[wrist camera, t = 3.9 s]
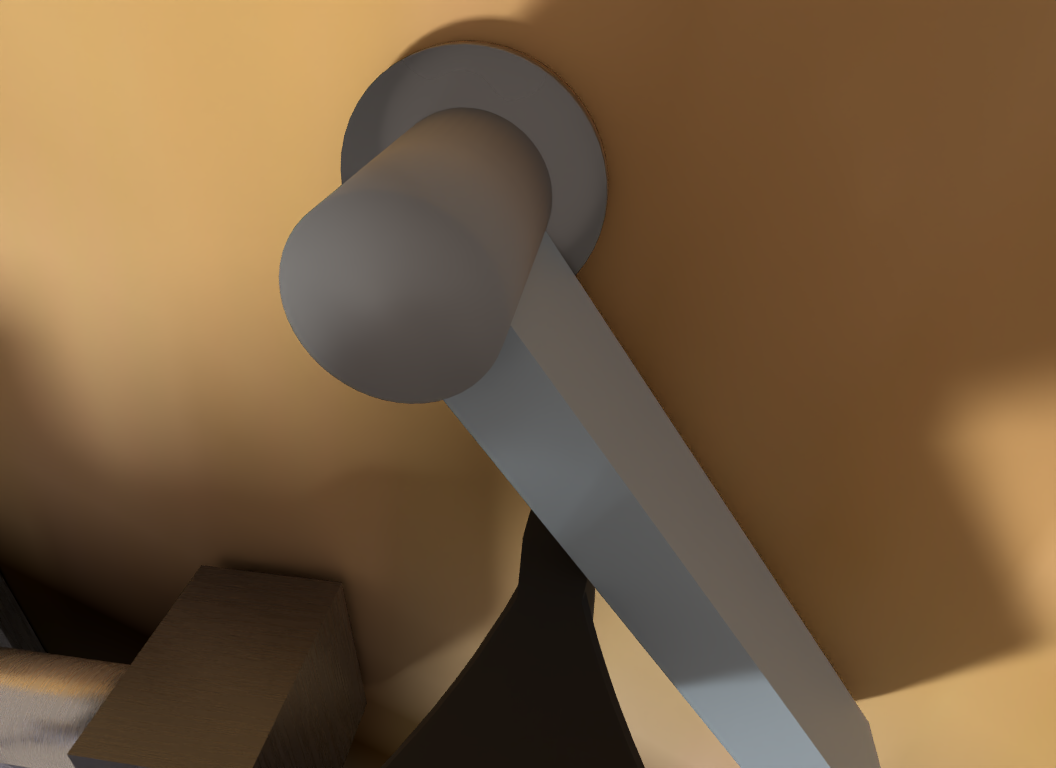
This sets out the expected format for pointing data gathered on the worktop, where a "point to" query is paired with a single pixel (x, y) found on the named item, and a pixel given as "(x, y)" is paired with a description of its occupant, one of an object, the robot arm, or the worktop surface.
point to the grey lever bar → (559, 420)
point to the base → (511, 93)
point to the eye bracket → (15, 624)
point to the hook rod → (199, 685)
